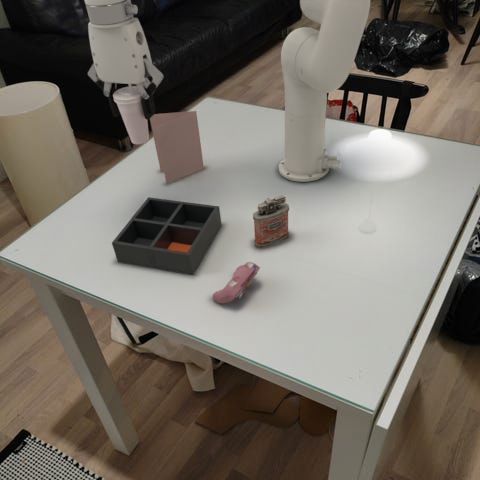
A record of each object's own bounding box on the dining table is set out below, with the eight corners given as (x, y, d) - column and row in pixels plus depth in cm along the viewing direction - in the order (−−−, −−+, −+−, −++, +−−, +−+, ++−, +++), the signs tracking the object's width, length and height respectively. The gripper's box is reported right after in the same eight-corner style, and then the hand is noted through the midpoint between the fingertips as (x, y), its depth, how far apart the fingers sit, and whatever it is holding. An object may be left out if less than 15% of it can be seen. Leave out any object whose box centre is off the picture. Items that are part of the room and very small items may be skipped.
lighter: (259, 250, 101) (257, 210, 93) (251, 242, 103) (249, 202, 96) (292, 238, 103) (292, 197, 96) (283, 230, 105) (283, 189, 98)
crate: (221, 225, 108) (219, 206, 104) (193, 275, 97) (189, 255, 93) (152, 216, 112) (148, 197, 109) (117, 262, 101) (111, 242, 98)
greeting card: (204, 166, 126) (196, 109, 116) (203, 181, 121) (195, 123, 111) (160, 169, 127) (149, 113, 116) (158, 184, 122) (146, 126, 111)
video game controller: (228, 314, 91) (240, 296, 85) (209, 299, 91) (219, 280, 85) (254, 283, 96) (267, 264, 90) (237, 269, 96) (248, 249, 90)
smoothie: (149, 148, 97) (133, 75, 87) (120, 147, 98) (100, 75, 88) (159, 133, 101) (145, 62, 91) (131, 132, 103) (114, 62, 92)
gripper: (164, 6, 83) (181, 110, 96) (79, 5, 88) (106, 104, 101) (144, 20, 78) (165, 127, 91) (56, 18, 83) (87, 120, 96)
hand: (134, 114), depth 96 cm, fingers closed on smoothie, 6 cm apart
